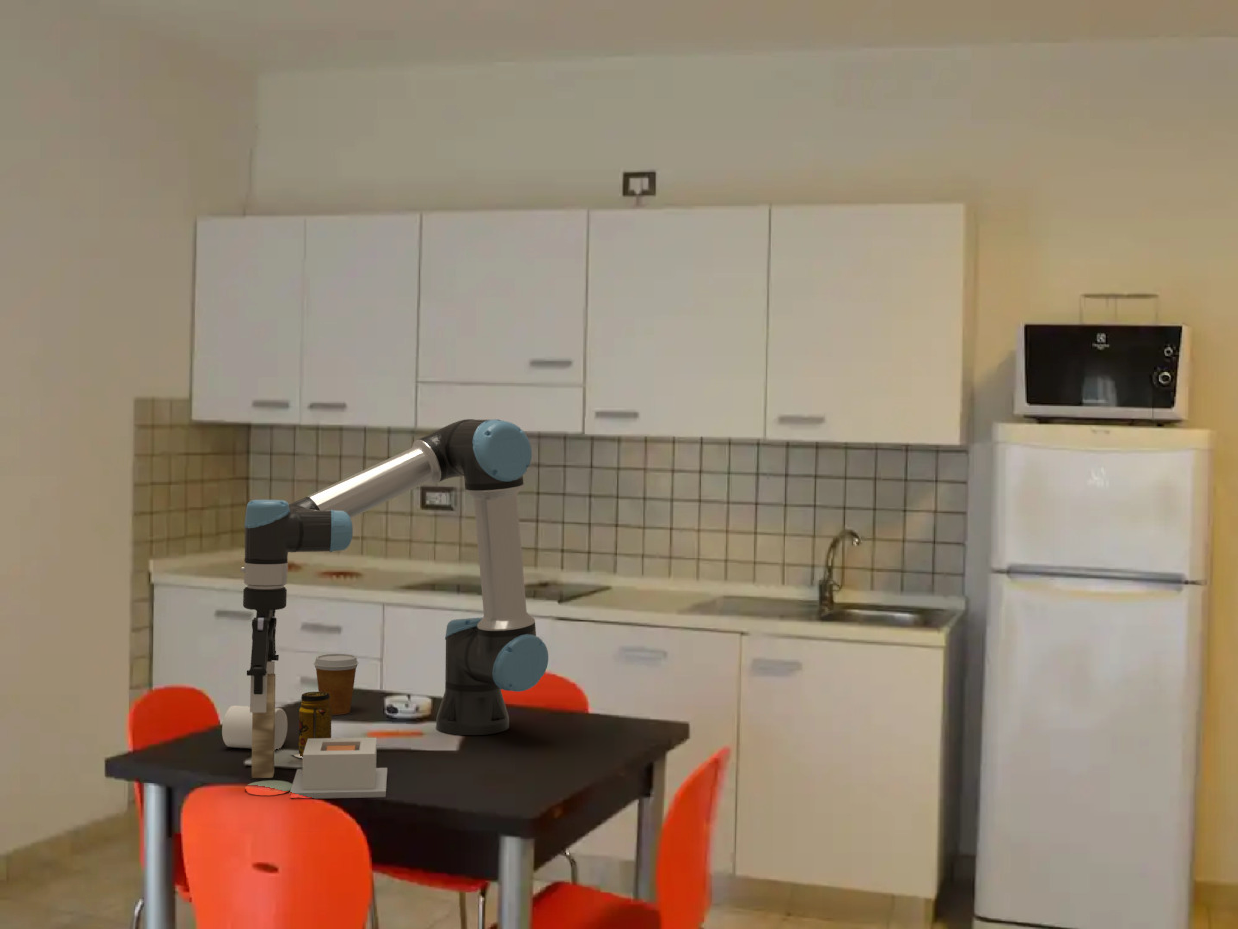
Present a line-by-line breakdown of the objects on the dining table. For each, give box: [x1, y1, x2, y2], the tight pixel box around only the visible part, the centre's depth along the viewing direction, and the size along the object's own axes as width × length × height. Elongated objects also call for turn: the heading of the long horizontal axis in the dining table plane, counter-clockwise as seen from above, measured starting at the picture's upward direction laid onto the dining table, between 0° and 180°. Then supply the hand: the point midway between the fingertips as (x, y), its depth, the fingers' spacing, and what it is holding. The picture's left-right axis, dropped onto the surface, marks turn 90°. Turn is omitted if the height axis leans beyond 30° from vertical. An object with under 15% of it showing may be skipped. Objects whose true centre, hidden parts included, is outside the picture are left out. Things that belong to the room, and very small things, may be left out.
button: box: [326, 745, 355, 751], centre depth 247 cm, size 5×5×4 cm
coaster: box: [247, 779, 293, 791], centre depth 243 cm, size 8×8×1 cm
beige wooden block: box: [251, 673, 276, 779], centre depth 252 cm, size 4×4×18 cm
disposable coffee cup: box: [313, 653, 359, 716], centre depth 306 cm, size 10×10×12 cm
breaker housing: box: [289, 737, 388, 799], centre depth 247 cm, size 16×16×7 cm
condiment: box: [298, 691, 332, 757], centre depth 268 cm, size 7×8×12 cm
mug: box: [221, 705, 288, 751], centre depth 275 cm, size 12×10×8 cm
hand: (262, 704), depth 252 cm, fingers open, 13 cm apart
